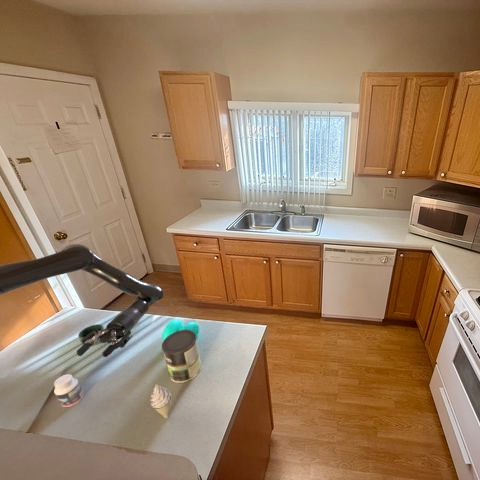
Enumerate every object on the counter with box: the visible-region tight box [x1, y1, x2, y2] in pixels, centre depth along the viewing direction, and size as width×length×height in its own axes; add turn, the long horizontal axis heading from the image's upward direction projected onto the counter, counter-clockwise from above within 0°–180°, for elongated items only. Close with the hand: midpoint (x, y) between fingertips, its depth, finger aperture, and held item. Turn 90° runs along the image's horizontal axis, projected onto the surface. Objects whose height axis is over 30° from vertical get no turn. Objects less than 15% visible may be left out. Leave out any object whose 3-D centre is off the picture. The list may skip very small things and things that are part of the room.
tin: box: [77, 324, 105, 344], centre depth 102 cm, size 8×8×3 cm
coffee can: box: [161, 330, 202, 384], centre depth 88 cm, size 10×10×14 cm
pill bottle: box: [53, 373, 85, 408], centre depth 78 cm, size 5×5×9 cm
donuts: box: [161, 318, 200, 342], centre depth 100 cm, size 10×10×10 cm
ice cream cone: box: [149, 383, 173, 419], centre depth 73 cm, size 5×5×15 cm
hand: (91, 354), depth 85 cm, fingers open, 8 cm apart
